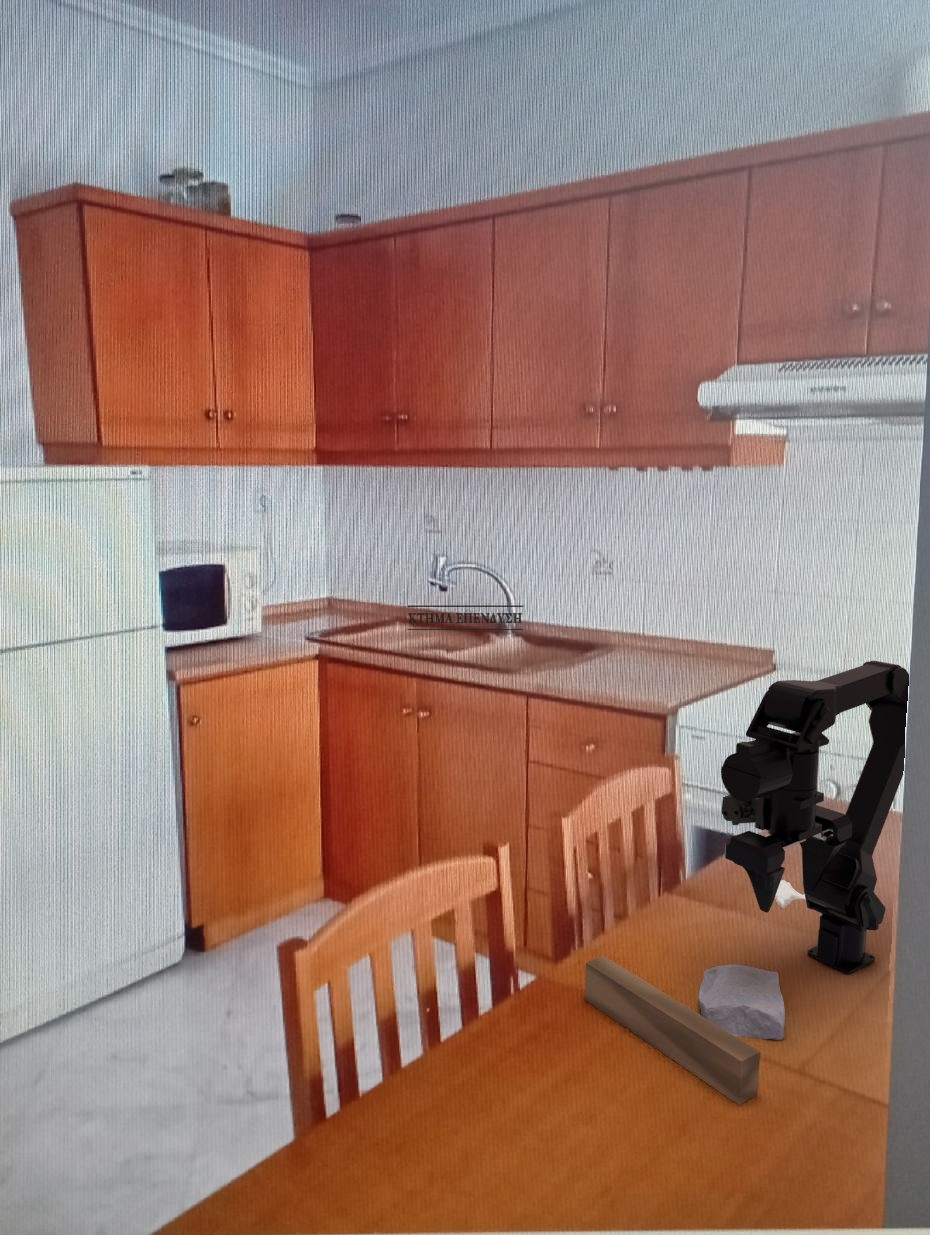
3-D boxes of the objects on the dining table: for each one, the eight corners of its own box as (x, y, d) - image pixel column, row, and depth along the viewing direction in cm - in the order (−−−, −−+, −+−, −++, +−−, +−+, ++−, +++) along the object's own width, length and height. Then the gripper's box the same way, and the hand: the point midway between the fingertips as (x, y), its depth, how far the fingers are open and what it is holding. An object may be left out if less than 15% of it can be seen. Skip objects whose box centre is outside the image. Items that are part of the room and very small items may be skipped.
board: (602, 992, 120) (603, 955, 119) (757, 1094, 101) (760, 1051, 100) (584, 999, 118) (585, 962, 118) (739, 1105, 99) (741, 1061, 98)
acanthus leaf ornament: (783, 912, 144) (783, 900, 143) (748, 895, 149) (749, 884, 149) (815, 900, 148) (816, 889, 147) (780, 884, 153) (781, 873, 153)
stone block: (704, 1048, 112) (792, 1044, 110) (698, 1010, 111) (786, 1004, 109) (701, 998, 123) (780, 993, 121) (695, 963, 123) (774, 957, 121)
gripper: (782, 753, 129) (777, 860, 132) (692, 781, 118) (688, 898, 121) (857, 774, 120) (850, 889, 123) (767, 807, 109) (761, 932, 112)
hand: (786, 900), depth 120 cm, fingers open, 9 cm apart
